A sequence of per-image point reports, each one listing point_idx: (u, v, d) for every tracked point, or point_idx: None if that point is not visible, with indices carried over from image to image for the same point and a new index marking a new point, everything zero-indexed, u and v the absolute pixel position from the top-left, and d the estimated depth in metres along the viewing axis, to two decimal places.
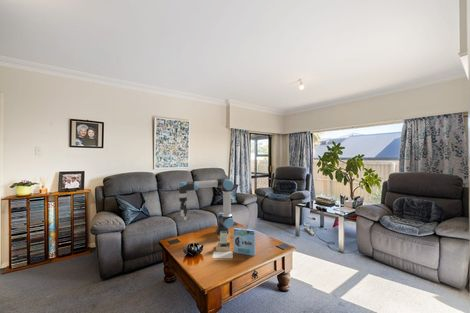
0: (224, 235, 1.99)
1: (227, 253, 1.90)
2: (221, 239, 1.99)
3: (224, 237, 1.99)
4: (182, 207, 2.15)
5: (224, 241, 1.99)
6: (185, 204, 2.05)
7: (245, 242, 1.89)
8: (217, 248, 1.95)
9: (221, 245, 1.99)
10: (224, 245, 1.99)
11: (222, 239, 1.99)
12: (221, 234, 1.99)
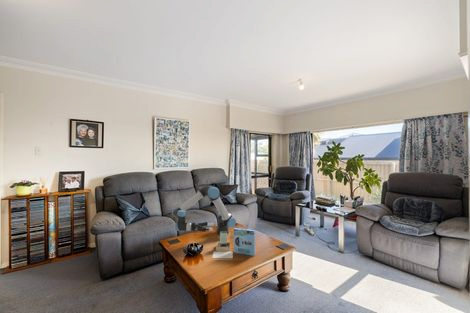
0: (224, 235, 1.99)
1: (227, 253, 1.90)
2: (221, 239, 1.99)
3: (224, 237, 1.99)
4: (204, 225, 2.06)
5: (224, 241, 1.99)
6: (196, 228, 1.94)
7: (245, 242, 1.89)
8: (217, 248, 1.95)
9: (221, 245, 1.99)
10: (224, 245, 1.99)
11: (222, 239, 1.99)
12: (221, 234, 1.99)
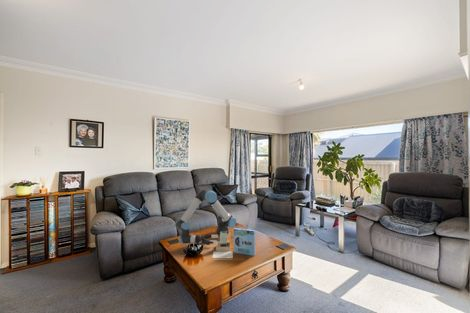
0: (224, 235, 1.99)
1: (227, 253, 1.90)
2: (221, 239, 1.99)
3: (224, 237, 1.99)
4: (208, 237, 2.05)
5: (224, 241, 1.99)
6: (200, 241, 1.94)
7: (245, 242, 1.89)
8: (217, 248, 1.95)
9: (221, 245, 1.99)
10: (224, 245, 1.99)
11: (222, 239, 1.99)
12: (221, 234, 1.99)
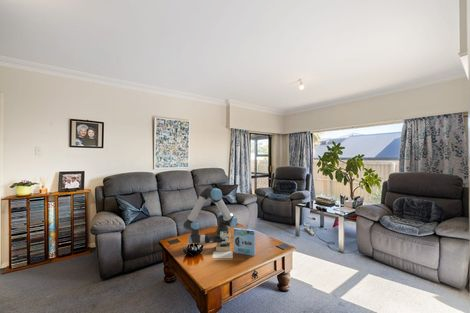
0: (224, 235, 1.99)
1: (227, 253, 1.90)
2: None
3: (224, 237, 1.99)
4: (218, 237, 2.03)
5: None
6: (212, 240, 1.95)
7: (245, 242, 1.89)
8: (217, 248, 1.95)
9: (221, 245, 1.99)
10: (224, 245, 1.99)
11: None
12: (221, 234, 1.99)
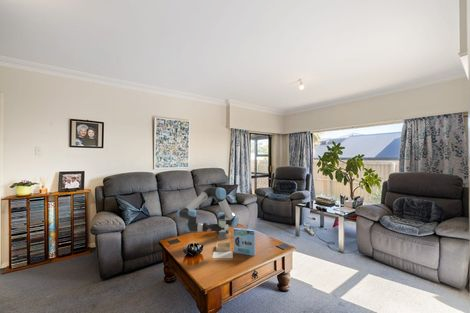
0: (223, 223, 1.87)
1: (227, 253, 1.90)
2: None
3: (223, 225, 1.87)
4: (216, 226, 1.91)
5: (223, 230, 1.87)
6: (210, 229, 1.83)
7: (245, 242, 1.89)
8: (217, 248, 1.95)
9: (220, 234, 1.87)
10: (223, 234, 1.87)
11: None
12: (220, 222, 1.87)
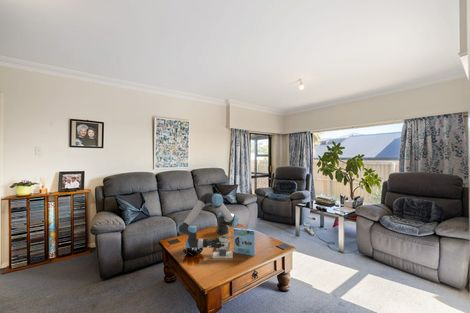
0: (223, 240, 1.86)
1: (227, 253, 1.90)
2: None
3: None
4: (217, 241, 1.91)
5: (223, 247, 1.86)
6: (210, 245, 1.81)
7: (245, 242, 1.89)
8: (217, 248, 1.95)
9: (220, 251, 1.86)
10: (223, 251, 1.86)
11: None
12: (220, 239, 1.86)
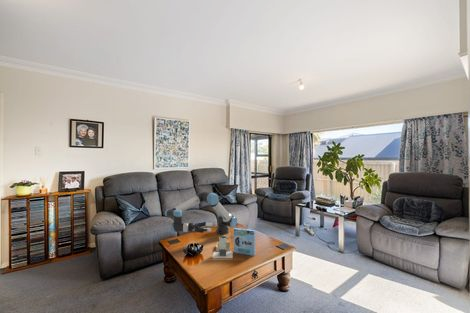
0: (223, 240, 1.86)
1: (227, 253, 1.90)
2: (220, 245, 1.86)
3: (223, 243, 1.86)
4: (202, 225, 1.93)
5: (223, 247, 1.86)
6: (194, 229, 1.81)
7: (245, 242, 1.89)
8: (217, 248, 1.95)
9: (220, 251, 1.86)
10: (223, 251, 1.86)
11: (221, 245, 1.86)
12: (220, 239, 1.86)
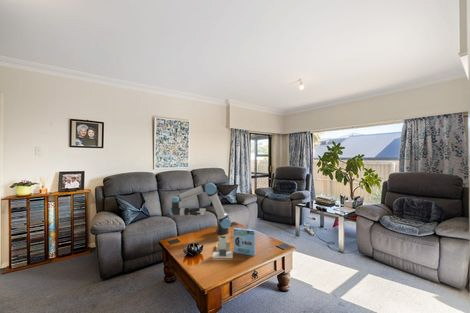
0: (223, 240, 1.86)
1: (227, 253, 1.90)
2: (220, 245, 1.86)
3: (223, 243, 1.86)
4: (196, 210, 2.23)
5: (223, 247, 1.86)
6: (189, 212, 2.11)
7: (245, 242, 1.89)
8: (217, 248, 1.95)
9: (220, 251, 1.86)
10: (223, 251, 1.86)
11: (221, 245, 1.86)
12: (220, 239, 1.86)
